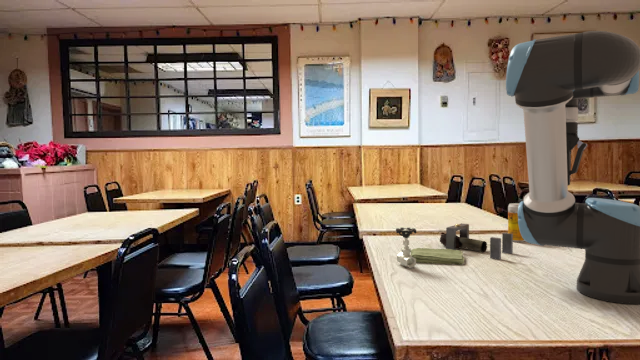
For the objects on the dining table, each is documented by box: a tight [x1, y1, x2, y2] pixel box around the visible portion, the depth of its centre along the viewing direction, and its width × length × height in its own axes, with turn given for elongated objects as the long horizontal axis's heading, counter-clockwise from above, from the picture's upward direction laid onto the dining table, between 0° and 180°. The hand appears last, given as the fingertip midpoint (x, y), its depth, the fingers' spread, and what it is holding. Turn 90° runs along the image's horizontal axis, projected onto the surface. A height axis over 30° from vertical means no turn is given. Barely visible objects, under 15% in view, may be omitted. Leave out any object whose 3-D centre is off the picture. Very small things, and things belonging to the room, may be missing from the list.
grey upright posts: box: [445, 223, 514, 261], centre depth 145 cm, size 12×19×9 cm, turn 45°
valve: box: [395, 227, 417, 269], centre depth 129 cm, size 7×7×12 cm
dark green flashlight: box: [439, 233, 488, 253], centre depth 151 cm, size 18×7×6 cm, turn 41°
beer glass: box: [507, 202, 525, 243], centre depth 163 cm, size 6×6×15 cm
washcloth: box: [410, 247, 465, 266], centre depth 137 cm, size 13×18×3 cm
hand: (562, 195), depth 131 cm, fingers closed
